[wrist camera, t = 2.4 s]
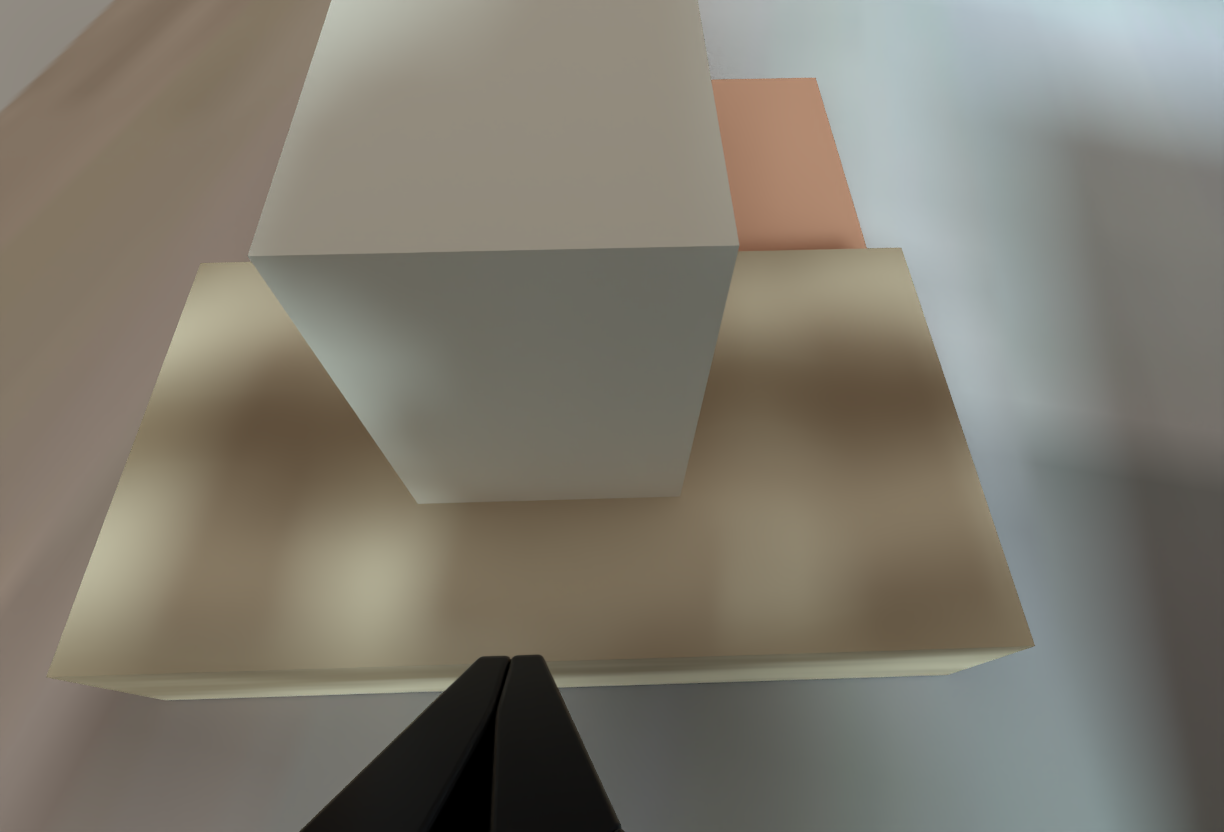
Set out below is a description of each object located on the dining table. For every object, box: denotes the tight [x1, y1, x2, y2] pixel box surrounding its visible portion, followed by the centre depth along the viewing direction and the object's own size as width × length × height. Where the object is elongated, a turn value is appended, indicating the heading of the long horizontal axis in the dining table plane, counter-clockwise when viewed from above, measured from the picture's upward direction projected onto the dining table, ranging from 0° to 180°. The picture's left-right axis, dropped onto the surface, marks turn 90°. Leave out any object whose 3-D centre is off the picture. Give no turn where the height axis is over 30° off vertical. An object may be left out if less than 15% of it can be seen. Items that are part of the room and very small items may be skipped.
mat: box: [711, 78, 867, 251], centre depth 25 cm, size 13×22×1 cm, turn 92°
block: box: [248, 0, 739, 504], centre depth 13 cm, size 7×6×8 cm
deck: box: [47, 248, 1035, 700], centre depth 18 cm, size 11×20×4 cm, turn 92°
